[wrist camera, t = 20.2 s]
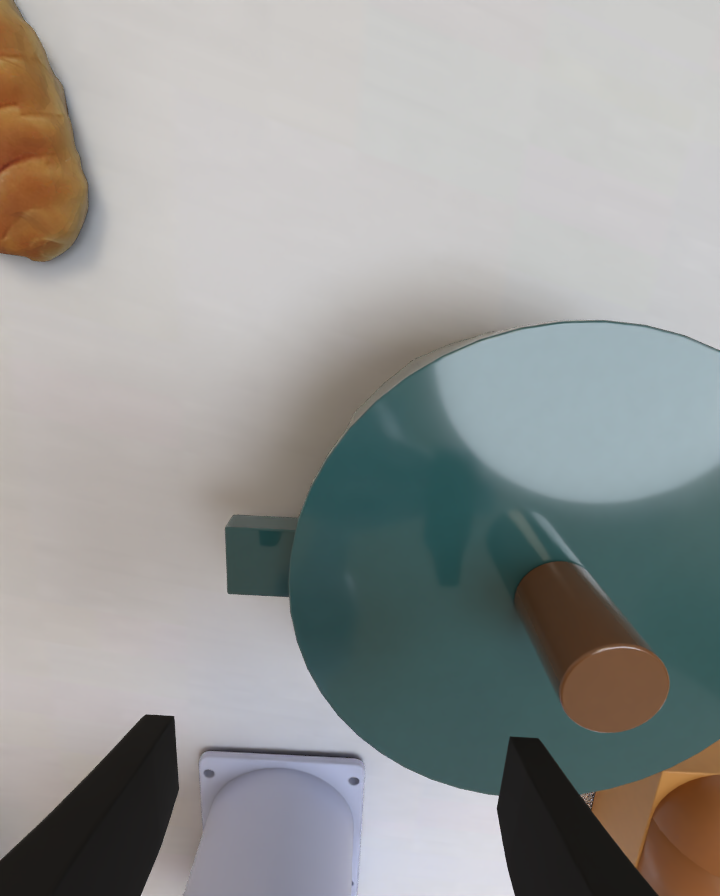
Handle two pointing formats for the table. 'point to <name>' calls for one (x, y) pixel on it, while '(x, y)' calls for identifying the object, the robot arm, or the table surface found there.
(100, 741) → the table surface
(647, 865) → the bread
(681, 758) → the lid
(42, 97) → the pastry
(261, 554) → the pot
